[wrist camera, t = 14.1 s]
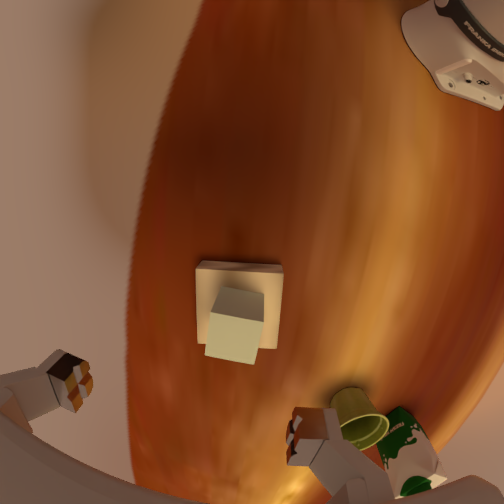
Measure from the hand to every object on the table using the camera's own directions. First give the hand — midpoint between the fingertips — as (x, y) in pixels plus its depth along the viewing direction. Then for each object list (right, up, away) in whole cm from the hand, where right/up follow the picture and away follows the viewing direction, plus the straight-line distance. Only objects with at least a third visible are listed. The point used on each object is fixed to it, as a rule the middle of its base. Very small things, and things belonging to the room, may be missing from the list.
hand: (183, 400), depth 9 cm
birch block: (+1, -1, +28) cm, 28 cm away
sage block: (+1, -1, +24) cm, 24 cm away
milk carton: (+30, -28, +33) cm, 52 cm away
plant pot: (+18, -19, +31) cm, 41 cm away
